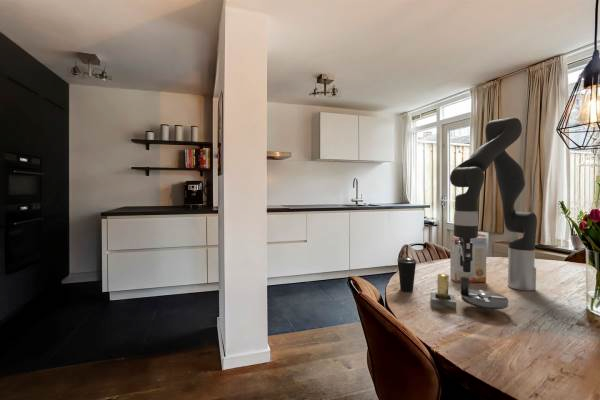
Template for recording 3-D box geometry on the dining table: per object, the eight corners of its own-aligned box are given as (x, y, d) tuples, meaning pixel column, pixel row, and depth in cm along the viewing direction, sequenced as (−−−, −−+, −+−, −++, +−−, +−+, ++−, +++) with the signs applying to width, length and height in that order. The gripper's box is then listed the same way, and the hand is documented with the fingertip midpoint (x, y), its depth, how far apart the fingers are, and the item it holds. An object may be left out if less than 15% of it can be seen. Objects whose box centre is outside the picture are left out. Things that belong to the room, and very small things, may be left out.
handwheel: (502, 296, 108) (502, 276, 108) (513, 311, 95) (514, 288, 95) (458, 291, 113) (458, 272, 113) (463, 305, 100) (463, 283, 100)
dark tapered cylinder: (407, 296, 120) (407, 247, 119) (393, 291, 127) (393, 244, 126) (420, 293, 124) (420, 245, 123) (406, 288, 130) (406, 242, 130)
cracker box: (479, 278, 143) (480, 235, 142) (486, 282, 137) (487, 237, 136) (449, 278, 144) (450, 235, 143) (454, 282, 138) (455, 237, 137)
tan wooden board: (499, 307, 109) (499, 297, 108) (510, 325, 95) (510, 313, 95) (430, 299, 117) (430, 289, 117) (431, 314, 103) (431, 303, 103)
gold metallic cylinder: (447, 303, 110) (448, 274, 110) (448, 307, 107) (449, 277, 106) (437, 302, 112) (437, 273, 111) (437, 305, 108) (438, 276, 108)
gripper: (481, 226, 97) (480, 275, 98) (474, 222, 111) (473, 265, 111) (456, 225, 100) (455, 273, 101) (452, 221, 113) (451, 263, 114)
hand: (464, 268), depth 106 cm, fingers open, 8 cm apart
